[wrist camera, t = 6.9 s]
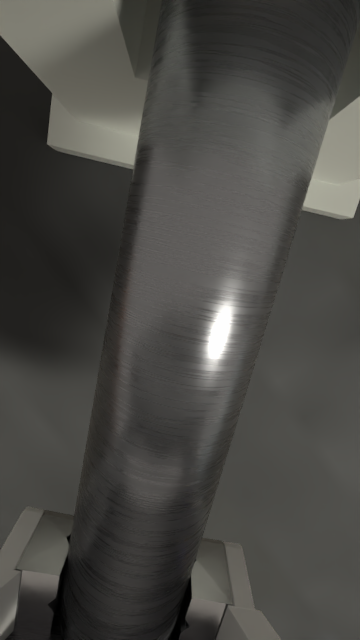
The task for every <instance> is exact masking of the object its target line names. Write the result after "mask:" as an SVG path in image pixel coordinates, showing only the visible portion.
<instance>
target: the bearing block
mask: <svg viewBox="0 0 360 640" xmlns="http://www.w3.org/2000/svg"><path fill="white" fill-rule="evenodd" d="M161 2H162V0H0V36H1V37H2V38H3V39H4V40H5V41H6V42H7V43H8V44H9V46H10V47H11V48H12V49H13V50H14V51H15V52H16V53H17V54H18V56H19V57H20V58H21V59H22V60H23V61H24V62H25V63H26V64H27V66H28V67H29V68H30V69H31V70H32V71H33V72H34V73H35V74H36V76H37V77H38V78H39V79H40V80H41V81H42V82H43V83H44V85H45V86H46V87H47V88H48V89H49V90H50V91H51V92H52V100H51V110H50V119H49V129H48V139H47V145H49V146H50V147H52V148H53V149H55V150H56V151H59V152H63V153H67V154H71V155H75V156H79V157H84V158H88V159H92V160H96V161H100V162H104V163H108V164H113V165H117V166H121V167H125V168H129V169H133V167H134V161H135V155H136V149H137V143H138V137H139V131H140V125H141V119H142V114H143V108H144V102H145V96H146V90H147V84H148V78H149V72H150V67H151V61H152V55H153V49H154V43H155V37H156V31H157V25H158V20H159V14H160V8H161ZM359 199H360V20H359V24H358V27H357V30H356V34H355V37H354V40H353V43H352V47H351V50H350V53H349V57H348V60H347V63H346V66H345V70H344V73H343V76H342V80H341V83H340V86H339V89H338V93H337V96H336V99H335V103H334V106H333V109H332V112H331V116H330V119H329V122H328V126H327V129H326V132H325V135H324V139H323V142H322V145H321V149H320V152H319V155H318V158H317V162H316V165H315V168H314V171H313V175H312V178H311V181H310V185H309V188H308V191H307V194H306V198H305V201H304V204H303V208H302V210H304V211H308V212H312V213H316V214H321V215H325V216H329V217H333V218H337V219H349V218H353V217H354V214H355V211H356V208H357V205H358V202H359Z"/></svg>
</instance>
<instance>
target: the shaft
mask: <svg viewBox="0 0 360 640" xmlns="http://www.w3.org/2000/svg"><path fill="white" fill-rule="evenodd" d="M359 20H360V0H162V2H161V8H160V14H159V20H158V25H157V31H156V37H155V43H154V49H153V55H152V61H151V67H150V72H149V78H148V84H147V90H146V96H145V102H144V108H143V114H142V119H141V125H140V131H139V137H138V143H137V149H136V155H135V161H134V167H133V172H132V178H131V184H130V190H129V196H128V202H127V208H126V214H125V219H124V225H123V231H122V237H121V243H120V249H119V255H118V261H117V267H116V272H115V278H114V284H113V290H112V296H111V302H110V308H109V314H108V319H107V325H106V331H105V337H104V343H103V349H102V355H101V361H100V367H99V372H98V378H97V384H96V390H95V396H94V402H93V408H92V414H91V419H90V425H89V431H88V437H87V443H86V449H85V455H84V461H83V467H82V472H81V478H80V484H79V490H78V496H77V502H76V508H75V514H74V519H73V525H72V531H71V537H70V543H69V549H68V556H67V562H66V568H65V573H64V578H63V585H62V591H61V597H60V603H59V608H58V611H57V614H56V617H55V620H54V623H53V626H52V629H51V632H42V631H34V630H27V629H19V628H14V631H13V632H12V633H11V634H10V635H9V636H8V637H7V638H6V639H5V640H175V625H176V621H177V618H178V615H179V612H180V608H181V605H182V602H183V598H184V595H185V592H186V589H187V585H188V582H189V579H190V576H191V572H192V569H193V566H194V562H195V559H196V556H197V553H198V549H199V546H200V543H201V539H202V536H203V533H204V530H205V526H206V523H207V520H208V516H209V513H210V510H211V507H212V503H213V500H214V497H215V493H216V490H217V487H218V484H219V480H220V477H221V474H222V470H223V467H224V464H225V461H226V457H227V454H228V451H229V447H230V444H231V441H232V438H233V434H234V431H235V428H236V424H237V421H238V418H239V415H240V411H241V408H242V405H243V401H244V398H245V395H246V392H247V388H248V385H249V382H250V378H251V375H252V372H253V369H254V365H255V362H256V359H257V355H258V352H259V349H260V346H261V342H262V339H263V336H264V332H265V329H266V326H267V323H268V319H269V316H270V313H271V309H272V306H273V303H274V300H275V296H276V293H277V290H278V286H279V283H280V280H281V277H282V273H283V270H284V267H285V263H286V260H287V257H288V254H289V250H290V247H291V244H292V240H293V237H294V234H295V231H296V227H297V224H298V221H299V217H300V214H301V211H302V208H303V204H304V201H305V198H306V194H307V191H308V188H309V185H310V181H311V178H312V175H313V171H314V168H315V165H316V162H317V158H318V155H319V152H320V149H321V145H322V142H323V139H324V135H325V132H326V129H327V126H328V122H329V119H330V116H331V112H332V109H333V106H334V103H335V99H336V96H337V93H338V89H339V86H340V83H341V80H342V76H343V73H344V70H345V66H346V63H347V60H348V57H349V53H350V50H351V47H352V43H353V40H354V37H355V34H356V30H357V27H358V24H359Z"/></svg>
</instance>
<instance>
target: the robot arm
mask: <svg viewBox="0 0 360 640" xmlns="http://www.w3.org/2000/svg"><path fill="white" fill-rule="evenodd" d="M73 519H74V516H73V515H68V514H63V513H58V512H54V511H49V510H43V509H38V508H33V507H28V506H27V507H26V508H25V509H24V511H23V512H22V513H21V515H20V517H19V519H18V520H17V522H16V524H15V526H14V527H13V529H12V531H11V533H10V534H9V536H8V538H7V540H6V541H5V543H4V545H3V547H2V548H1V550H0V640H5V639H6V638H7V637H8V636H9V635H10V634H11V633H12V632H13V631H14V628H19V629H27V630H34V631H42V632H51V629H52V626H53V623H54V620H55V617H56V614H57V611H58V608H59V603H60V597H61V591H62V585H63V578H64V573H65V568H66V562H67V556H68V549H69V543H70V537H71V531H72V525H73ZM175 640H281V639H280V637H279V636H278V635H277V633H276V632H275V630H274V629H273V628H272V626H271V625H270V623H269V622H268V620H267V619H266V618H265V616H264V615H263V613H262V612H261V611H260V610H255V607H254V602H253V597H252V592H251V587H250V583H249V578H248V573H247V568H246V563H245V558H244V553H243V549H242V547H241V545H240V544H235V543H230V542H224V541H223V542H222V541H220V540H213V539H207V538H202V539H201V543H200V546H199V549H198V553H197V556H196V559H195V562H194V566H193V569H192V572H191V576H190V579H189V582H188V585H187V589H186V592H185V595H184V598H183V602H182V605H181V608H180V612H179V615H178V618H177V621H176V625H175Z"/></svg>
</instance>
